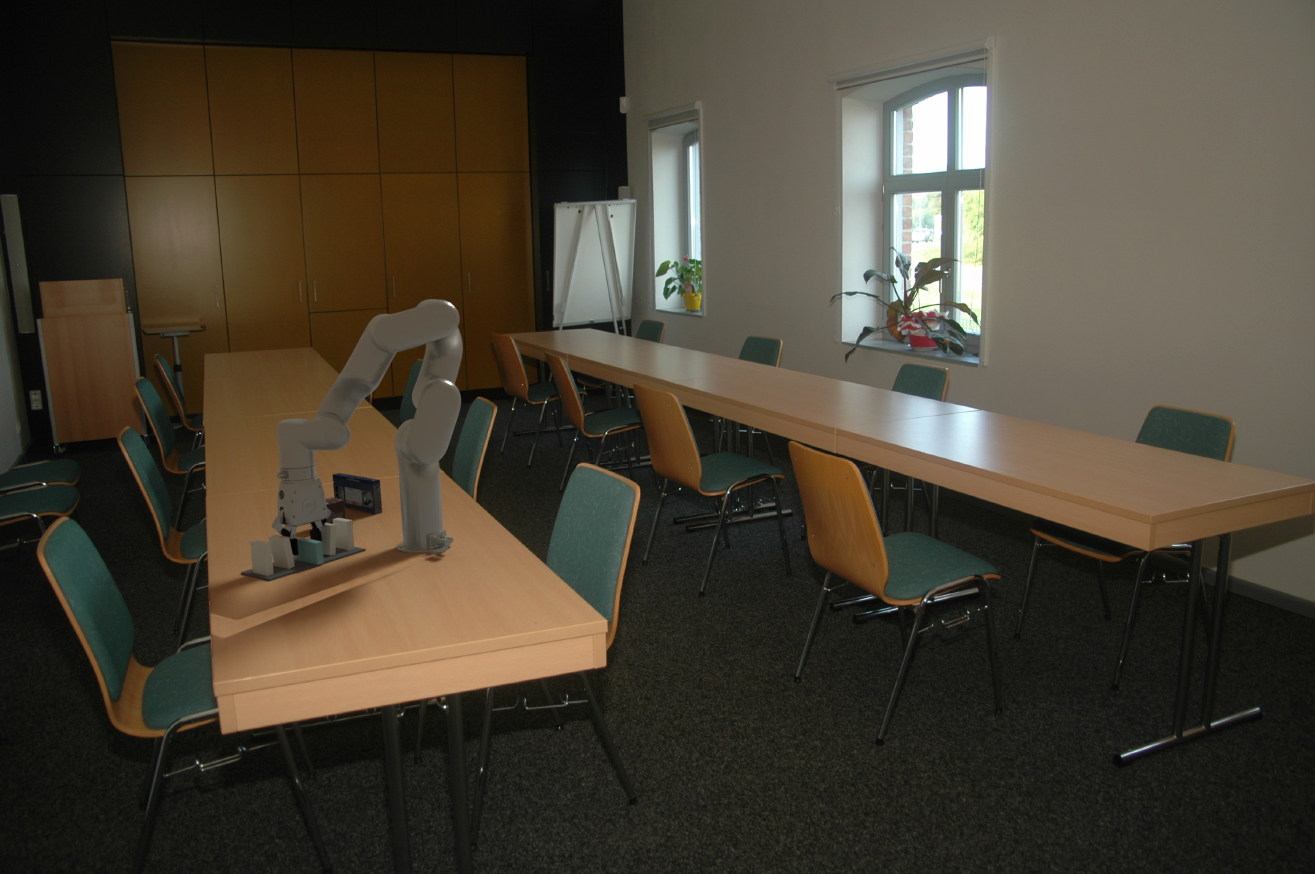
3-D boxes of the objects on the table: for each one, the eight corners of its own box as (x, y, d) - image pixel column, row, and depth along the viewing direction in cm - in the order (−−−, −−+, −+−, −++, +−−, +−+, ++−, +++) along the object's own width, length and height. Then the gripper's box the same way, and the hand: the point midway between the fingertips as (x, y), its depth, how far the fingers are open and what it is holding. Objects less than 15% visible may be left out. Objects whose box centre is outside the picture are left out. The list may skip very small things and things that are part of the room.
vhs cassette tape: (334, 508, 264) (331, 473, 262) (343, 506, 266) (341, 472, 265) (374, 517, 253) (371, 481, 251) (383, 514, 255) (380, 479, 254)
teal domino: (301, 537, 213) (322, 541, 209) (303, 558, 213) (323, 562, 210) (295, 539, 211) (316, 543, 208) (297, 560, 212) (317, 564, 208)
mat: (365, 550, 221) (365, 548, 221) (269, 580, 199) (269, 579, 199) (337, 544, 226) (337, 543, 226) (241, 573, 204) (240, 572, 204)
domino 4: (340, 545, 223) (338, 517, 222) (354, 548, 221) (352, 520, 220) (334, 547, 222) (332, 519, 221) (348, 550, 219) (346, 521, 218)
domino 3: (321, 551, 219) (322, 522, 218) (335, 554, 216) (336, 524, 216) (315, 552, 217) (316, 522, 217) (329, 555, 215) (330, 525, 215)
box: (334, 523, 246) (332, 496, 245) (347, 527, 242) (345, 500, 241) (313, 528, 242) (311, 501, 240) (326, 532, 238) (324, 504, 237)
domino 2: (280, 562, 210) (274, 534, 208) (295, 566, 207) (288, 537, 205) (274, 565, 208) (268, 536, 206) (289, 569, 206) (282, 539, 204)
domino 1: (259, 570, 205) (256, 539, 204) (273, 573, 202) (270, 542, 201) (252, 572, 204) (250, 541, 203) (267, 575, 201) (264, 544, 200)
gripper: (275, 482, 200) (282, 563, 203) (340, 468, 214) (346, 544, 217) (254, 479, 204) (261, 558, 207) (319, 465, 218) (325, 539, 221)
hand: (304, 550), depth 212 cm, fingers open, 5 cm apart
